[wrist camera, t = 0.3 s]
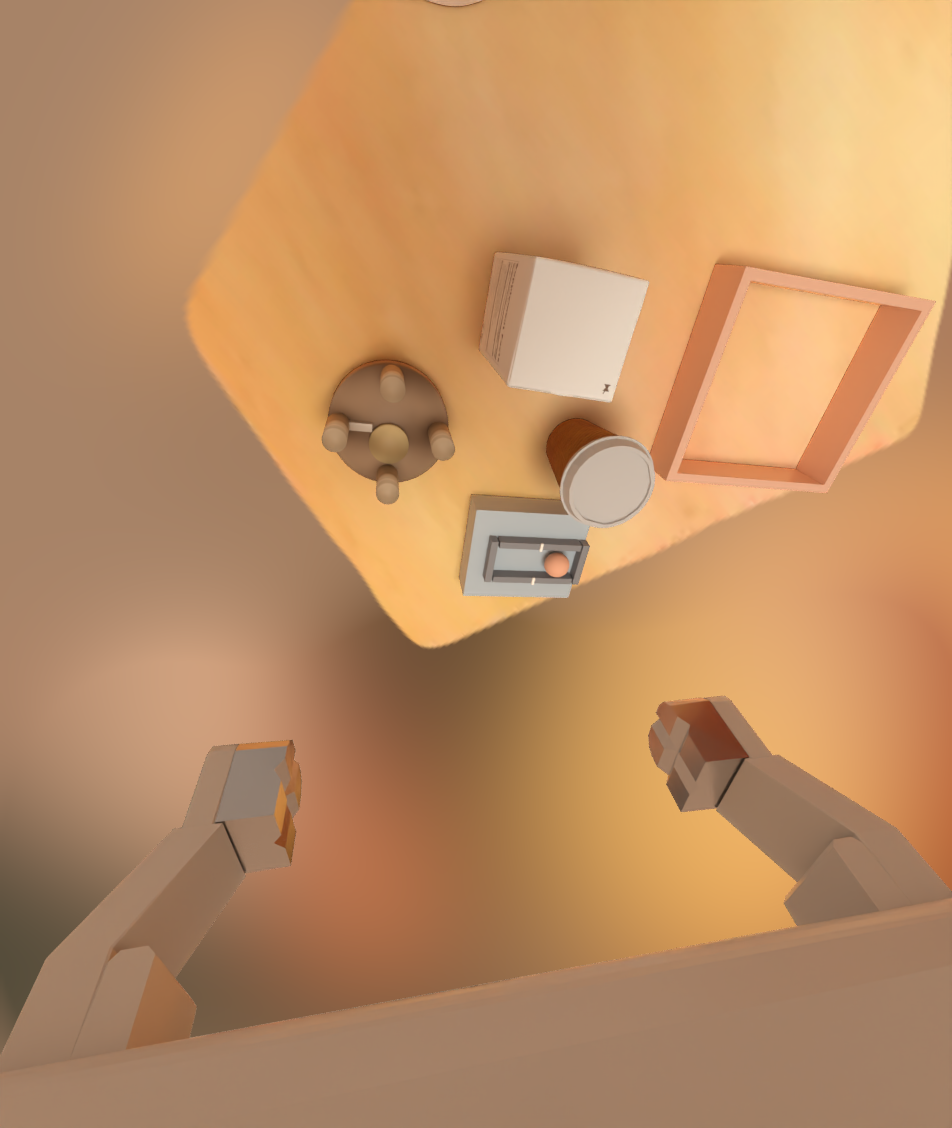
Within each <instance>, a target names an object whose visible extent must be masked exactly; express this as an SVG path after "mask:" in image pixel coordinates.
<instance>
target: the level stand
mask: <svg viewBox="0 0 952 1128" xmlns="http://www.w3.org/2000/svg"><path fill="white" fill-rule="evenodd" d="M589 527H590V526H589V525H585V524H582V523H580V522H578V521H576V520H574V519H573V518H572V517H571V516H570V515H569V514H568V513H567V512H566V510H565V509H564V506H563V504H562V501H561V500H551V499H535V498H519V497H503V496H488V495H472V494H471V501H470V508H469V514H468V521H467V528H466V534H465V541H464V548H463V555H462V561H461V568H460V575H459V579H460V584H461V588H462V593H463V596H508V597H559V598H568V597H569V593H570V590H571V587H572V584H578V583H579V580H580V577H581V573H582V570H583V567H584V564H585V560H586V557H587V554H588V551H589V547H590V546H589V544H588V543H587V541H586V537H587V533H588V530H589ZM556 552H558V553H562V554H564V555H565V556H566V557H567V558H568V560H569V570H568V571H567V573H566V574H565V575H563V576H561V577H552V576H550V575H549V574H548V573H547V572H546V570H545V568H544V562H545V559H546V558H547V557H548V556H549V555H550V554H552V553H556Z"/></svg>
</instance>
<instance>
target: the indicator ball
mask: <svg viewBox="0 0 952 1128" xmlns="http://www.w3.org/2000/svg"><path fill="white" fill-rule="evenodd" d="M544 568H545V570H546V572H547V573H548V574H549V575H550V576H552V577H561V576H563V575H565V574H566V573H567V571H568V570H569V560H568V558H567V557H566V556H565V555H564V554H562V553H558V552H556V553H552V554H550V555H549V556H548V557H547V558H546V559H545V562H544Z"/></svg>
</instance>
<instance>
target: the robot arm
mask: <svg viewBox="0 0 952 1128" xmlns="http://www.w3.org/2000/svg"><path fill="white" fill-rule="evenodd" d="M428 1H430V2H433V3H436V4H441V5H447V6H463V5H469V4H473V3H476V2H479V1H482V0H428ZM656 713H657V715H658V717H659V720H658V721H656V722H655V723H654V724H653V725H651V729H650V732H649V735H648V737H649V748H650V751H651V754H652V757H653V759H654V761H655V763H656V765H657V767H659V768H660V769H661V770H663V771H664V772H665V773H667V774H668V779H667V784H666V785H667V786H668V788H669V790H670V792H671V794H672V796H673V798H674V800H675V802H676V803H677V806H678V807H679V809H680V811H681V812H687V811H695V810H705V809H714V808H717V810H716V811H717V812H719V813H720V814H721V815H722V816H723V817H724V818H725V819H726V820H728V821H729V822H730V823H731V824H732V825H733V826H734V827H735V828H737V829H738V830H739V831H740V832H741V833H742V834H744V836H746V837H747V838H748V839H749V840H750V841H751V842H752V843H754V844H755V845H756V846H757V847H758V848H759V849H760V850H761V851H763V852H764V853H765V854H766V855H767V856H768V857H770V858H771V859H772V860H773V861H774V862H775V863H776V864H777V865H778V866H780V867H781V868H782V869H783V870H784V871H785V872H786V873H788V874H789V875H790V876H791V877H792V878H793V879H794V880H795V881H796V882H797V884H796V885H795V886H794V887H793V888H792V889H791V891H790V892H789V893H788V894H787V895H786V897H785V901H784V904H785V906H786V908H787V910H788V911H789V913H790V915H791V916H792V918H793V920H794V922H795V923H796V925H797V926H795V927H790V928H785V929H779V930H774V931H768V932H763V933H757V934H752V935H747V936H741V937H736V938H731V939H725V940H719V941H714V942H709V943H703V944H698V945H692V946H687V947H681V948H676V949H671V950H666V951H660V952H655V953H649V954H643V955H638V956H632V957H627V958H622V959H616V960H611V961H605V962H600V963H594V964H589V965H583V966H578V967H573V968H567V969H562V970H557V971H551V972H546V973H540V974H535V975H529V976H524V977H518V978H513V979H508V980H502V981H497V982H491V983H486V984H480V985H475V986H470V987H464V988H458V989H453V990H448V991H442V992H437V993H432V994H426V995H420V996H415V997H410V998H404V999H399V1000H393V1001H388V1002H383V1003H377V1004H372V1005H366V1006H361V1007H355V1008H350V1009H344V1010H339V1011H334V1012H329V1013H323V1014H317V1015H312V1016H307V1017H301V1018H296V1019H290V1020H285V1021H279V1022H274V1023H268V1024H263V1025H257V1026H252V1027H247V1028H241V1029H236V1030H231V1031H226V1032H219V1033H214V1034H209V1035H204V1036H198V1037H192V1038H190V1034H191V1030H192V1025H193V1021H194V1017H195V1012H196V1008H197V1007H196V1005H195V1003H194V1002H193V1000H192V999H191V997H190V996H189V995H188V994H187V992H186V991H185V990H184V989H183V987H182V986H181V985H180V984H179V982H178V981H177V980H176V979H175V978H176V977H177V975H178V974H179V972H180V971H181V969H182V968H183V966H184V965H185V964H186V962H187V961H188V959H189V958H190V956H191V955H192V953H193V952H194V950H195V949H196V948H197V946H198V945H199V943H200V942H201V940H202V939H203V937H204V936H205V934H206V933H207V932H208V930H209V929H210V927H211V926H212V924H213V923H214V921H215V920H216V919H217V917H218V916H219V914H220V913H221V911H222V910H223V908H224V907H225V905H226V904H227V903H228V901H229V900H230V898H231V897H232V895H233V894H234V892H235V891H236V889H237V888H238V887H239V885H240V884H241V882H242V881H243V879H244V878H245V873H251V872H257V871H262V870H269V869H275V868H281V867H287V866H291V862H292V856H293V849H294V842H295V836H296V829H295V826H294V822H293V819H292V818H293V817H294V816H295V815H296V813H297V812H298V811H299V808H300V801H301V785H302V779H301V770H300V766H299V763H298V762H296V761H295V760H294V756H295V746H294V743H293V740H284V741H271V742H258V743H246V744H232V745H222V746H213V747H212V748H211V750H210V751H209V752H208V754H207V757H206V759H205V762H204V765H203V767H202V770H201V774H200V776H199V779H198V782H197V785H196V788H195V791H194V794H193V797H192V800H191V803H190V806H189V808H188V811H187V814H186V817H185V820H184V823H183V826H182V827H181V828H175V829H173V830H172V831H171V832H170V833H169V834H168V835H167V836H166V837H165V838H164V839H163V840H162V841H161V842H160V843H159V844H158V845H157V846H156V847H155V848H154V849H153V850H152V851H151V852H150V853H149V854H148V855H147V856H146V857H145V858H144V859H143V860H142V861H141V862H140V863H139V864H138V866H137V867H135V869H134V870H133V871H132V872H131V873H130V874H129V875H128V876H127V877H126V878H125V879H124V880H123V881H122V882H121V883H120V884H119V885H118V886H117V887H116V888H115V889H114V890H113V891H112V892H111V893H110V894H109V895H108V896H107V897H106V898H105V899H104V900H103V901H102V902H101V903H100V904H99V905H98V906H97V907H96V908H95V909H94V910H93V911H92V912H91V913H90V914H89V915H88V917H87V918H86V919H84V921H83V922H82V923H81V924H80V925H79V926H78V927H77V928H76V929H75V930H74V931H73V932H72V933H71V934H70V935H69V936H68V937H67V938H66V939H65V940H64V941H63V942H62V943H61V944H60V945H59V946H58V947H57V948H56V949H55V950H54V951H53V952H52V953H51V954H50V955H49V957H47V958H46V960H45V962H44V964H43V966H42V969H41V971H40V973H39V975H38V977H37V979H36V981H35V983H34V986H33V988H32V990H31V992H30V994H29V996H28V998H27V1001H26V1003H25V1005H24V1007H23V1009H22V1011H21V1013H20V1015H19V1018H18V1020H17V1022H16V1024H15V1026H14V1028H13V1030H12V1032H11V1034H10V1036H9V1039H8V1041H7V1043H6V1045H5V1047H4V1049H3V1051H2V1053H1V1056H0V1128H952V891H951V890H950V889H949V888H948V887H947V886H946V884H945V883H944V882H943V881H942V880H941V879H940V877H938V875H937V874H936V873H935V872H934V871H933V869H932V868H931V867H930V866H929V865H928V864H927V863H926V861H925V860H924V859H923V858H922V857H921V856H920V854H919V853H918V852H917V851H916V850H915V849H914V848H913V846H912V845H911V844H910V843H909V842H908V841H907V839H906V838H905V837H904V836H903V835H902V834H901V833H900V831H899V830H898V829H897V828H896V827H894V826H892V825H891V824H889V823H888V822H886V821H884V820H883V819H881V818H880V817H878V816H876V815H875V814H873V813H871V812H870V811H868V810H867V809H865V808H863V807H862V806H860V805H859V804H857V803H855V802H854V801H852V800H850V799H849V798H847V797H846V796H844V795H842V794H841V793H839V792H838V791H836V790H834V789H833V788H831V787H830V786H828V785H826V784H825V783H823V782H822V781H820V780H818V779H817V778H815V777H814V776H812V775H810V774H809V773H807V772H805V771H804V770H802V769H801V768H799V767H797V766H796V765H794V764H793V763H791V762H789V761H788V760H786V759H784V758H783V757H781V756H779V755H772V754H771V753H770V751H769V750H768V749H767V747H766V746H765V745H764V743H763V742H762V741H761V740H760V738H759V737H758V736H757V734H756V733H755V732H754V730H753V729H752V728H751V726H750V725H749V724H748V723H747V721H746V720H745V718H744V717H743V716H742V715H741V713H740V712H739V710H738V709H737V708H736V706H735V705H734V704H733V703H732V701H731V700H730V699H729V698H727V697H726V696H717V697H708V698H693V699H685V700H676V701H668V702H663V703H661V704H660V705H659V707H658V709H657V712H656Z"/></svg>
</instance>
